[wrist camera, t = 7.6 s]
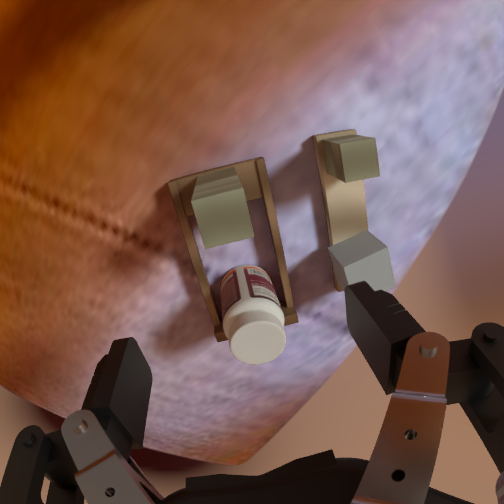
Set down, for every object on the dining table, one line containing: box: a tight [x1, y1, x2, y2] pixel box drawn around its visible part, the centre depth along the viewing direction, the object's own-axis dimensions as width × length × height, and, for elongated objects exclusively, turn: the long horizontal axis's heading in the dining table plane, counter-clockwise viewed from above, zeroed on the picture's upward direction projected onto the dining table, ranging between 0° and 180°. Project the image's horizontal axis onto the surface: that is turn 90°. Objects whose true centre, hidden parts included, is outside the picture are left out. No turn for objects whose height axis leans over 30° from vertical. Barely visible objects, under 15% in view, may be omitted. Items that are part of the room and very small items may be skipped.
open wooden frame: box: [168, 157, 298, 342], centre depth 24 cm, size 14×8×9 cm, turn 13°
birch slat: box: [313, 129, 380, 292], centre depth 26 cm, size 14×4×5 cm, turn 13°
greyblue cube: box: [327, 230, 395, 292], centre depth 27 cm, size 4×4×4 cm
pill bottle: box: [220, 265, 286, 365], centre depth 26 cm, size 5×5×8 cm
